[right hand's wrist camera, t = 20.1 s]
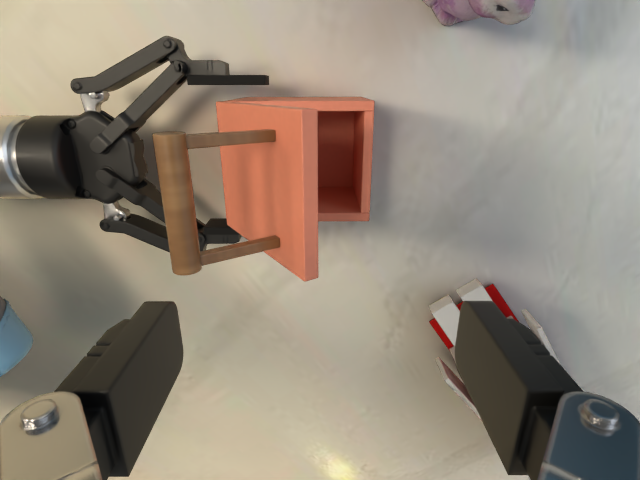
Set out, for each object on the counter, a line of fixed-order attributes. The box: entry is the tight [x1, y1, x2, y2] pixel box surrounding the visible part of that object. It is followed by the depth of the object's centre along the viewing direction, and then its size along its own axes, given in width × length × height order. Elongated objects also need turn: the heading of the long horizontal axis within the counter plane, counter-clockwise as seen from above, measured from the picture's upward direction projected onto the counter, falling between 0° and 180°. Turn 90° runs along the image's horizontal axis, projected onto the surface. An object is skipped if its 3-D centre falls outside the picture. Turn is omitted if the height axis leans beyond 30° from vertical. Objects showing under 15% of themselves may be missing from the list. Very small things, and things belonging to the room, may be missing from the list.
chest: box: [228, 97, 374, 221], centre depth 39 cm, size 12×10×11 cm
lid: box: [152, 101, 318, 281], centre depth 26 cm, size 13×10×8 cm
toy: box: [429, 278, 560, 479], centre depth 49 cm, size 12×13×30 cm
